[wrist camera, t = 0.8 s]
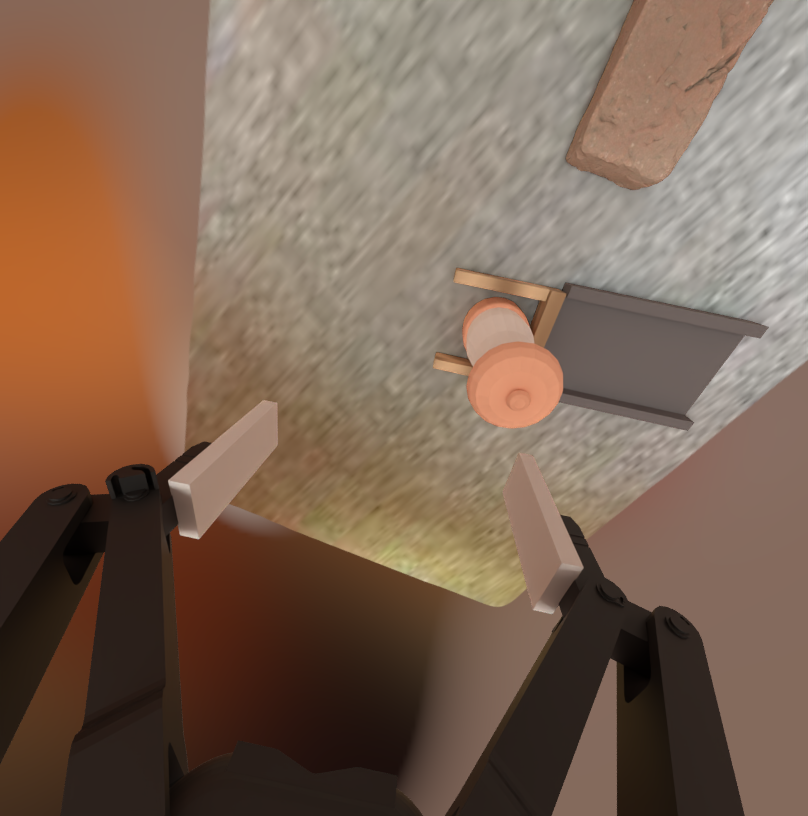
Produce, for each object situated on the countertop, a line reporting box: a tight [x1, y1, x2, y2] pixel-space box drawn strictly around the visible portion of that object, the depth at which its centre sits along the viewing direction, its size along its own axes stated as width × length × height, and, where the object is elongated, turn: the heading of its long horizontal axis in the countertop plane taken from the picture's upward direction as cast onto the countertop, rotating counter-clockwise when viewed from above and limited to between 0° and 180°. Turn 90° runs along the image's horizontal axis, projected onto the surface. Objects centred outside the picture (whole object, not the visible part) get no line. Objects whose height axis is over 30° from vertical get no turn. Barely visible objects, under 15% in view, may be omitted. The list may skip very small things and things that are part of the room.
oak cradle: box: [433, 268, 566, 376], centre depth 37 cm, size 12×11×3 cm
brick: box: [566, 0, 774, 190], centre depth 24 cm, size 16×8×5 cm, turn 164°
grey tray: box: [544, 283, 769, 431], centre depth 37 cm, size 20×13×2 cm, turn 80°
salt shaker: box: [462, 297, 563, 428], centre depth 30 cm, size 7×7×19 cm
